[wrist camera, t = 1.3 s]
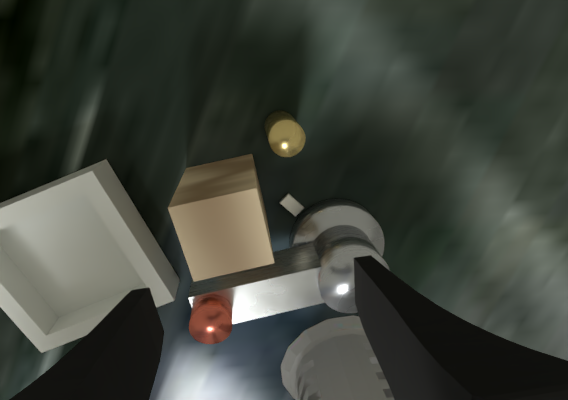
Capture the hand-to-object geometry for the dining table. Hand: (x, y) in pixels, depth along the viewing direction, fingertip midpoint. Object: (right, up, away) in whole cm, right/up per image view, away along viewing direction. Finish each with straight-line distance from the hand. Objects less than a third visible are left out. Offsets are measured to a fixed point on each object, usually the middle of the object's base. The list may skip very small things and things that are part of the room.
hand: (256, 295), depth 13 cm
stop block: (-3, +4, +10) cm, 11 cm away
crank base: (+3, +3, +10) cm, 11 cm away
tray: (-12, 0, +10) cm, 15 cm away
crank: (+1, -1, +10) cm, 10 cm away
